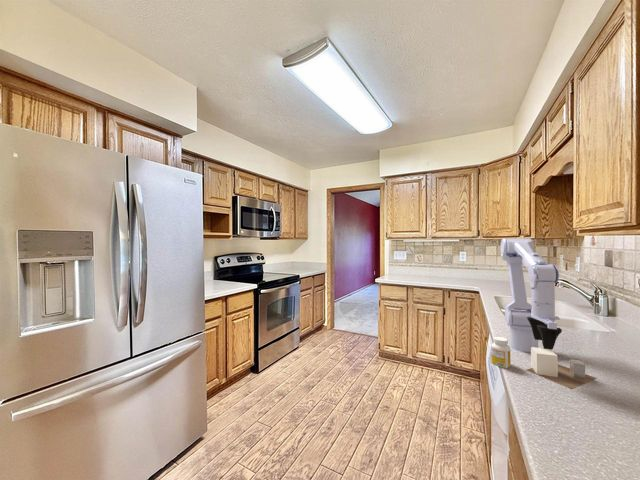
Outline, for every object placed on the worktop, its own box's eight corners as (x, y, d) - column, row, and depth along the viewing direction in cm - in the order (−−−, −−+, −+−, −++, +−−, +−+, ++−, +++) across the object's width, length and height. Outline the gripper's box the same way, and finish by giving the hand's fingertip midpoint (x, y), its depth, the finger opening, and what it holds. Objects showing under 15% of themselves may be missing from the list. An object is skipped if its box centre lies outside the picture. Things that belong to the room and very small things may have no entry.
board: (550, 364, 93) (550, 361, 93) (597, 381, 82) (597, 378, 82) (525, 372, 87) (525, 369, 87) (571, 392, 76) (571, 388, 76)
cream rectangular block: (531, 366, 89) (530, 346, 89) (550, 369, 87) (550, 349, 87) (537, 374, 84) (536, 353, 84) (557, 377, 82) (557, 355, 82)
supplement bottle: (502, 362, 94) (502, 335, 94) (514, 370, 89) (514, 341, 89) (488, 363, 94) (487, 335, 94) (498, 371, 89) (498, 342, 89)
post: (569, 373, 84) (569, 359, 84) (580, 375, 83) (580, 360, 83) (574, 377, 82) (574, 363, 82) (585, 379, 81) (585, 364, 81)
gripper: (570, 309, 77) (570, 355, 78) (549, 297, 91) (549, 337, 91) (540, 307, 80) (540, 351, 80) (523, 296, 94) (524, 335, 94)
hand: (543, 344), depth 86 cm, fingers open, 7 cm apart
